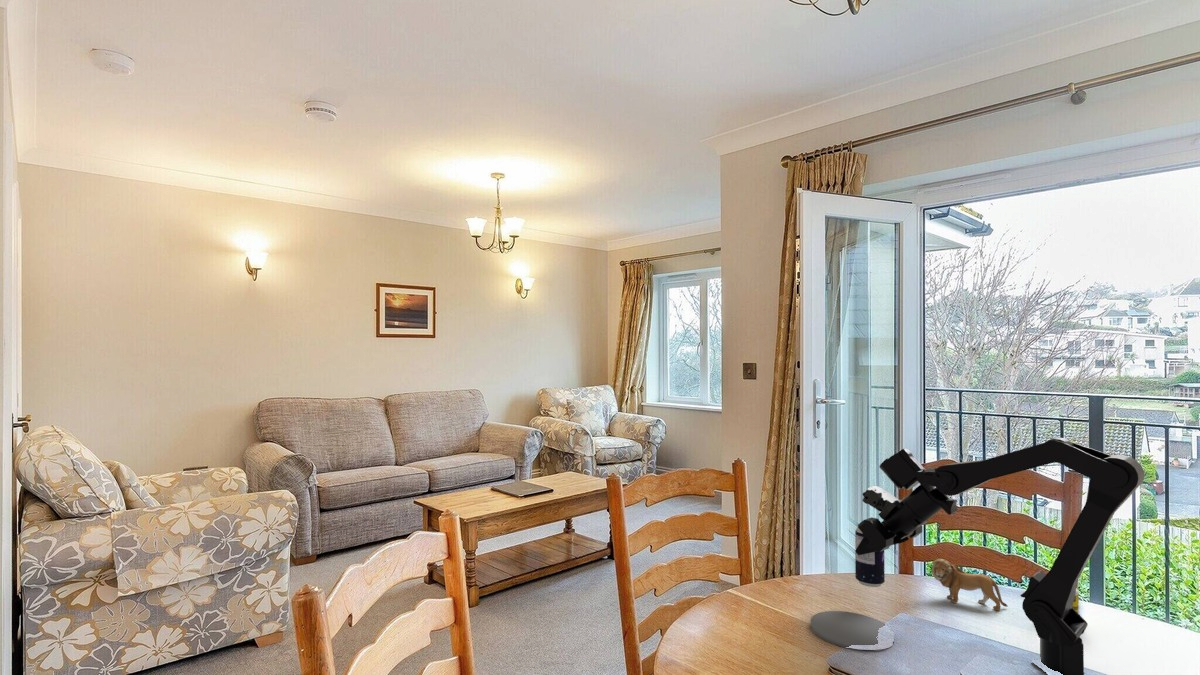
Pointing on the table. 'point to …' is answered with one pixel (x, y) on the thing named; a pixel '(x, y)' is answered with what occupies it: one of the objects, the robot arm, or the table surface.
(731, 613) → the table surface
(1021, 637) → the table surface
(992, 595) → the lion figurine
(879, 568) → the beverage can
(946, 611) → the table surface
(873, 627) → the gray smooth stone
